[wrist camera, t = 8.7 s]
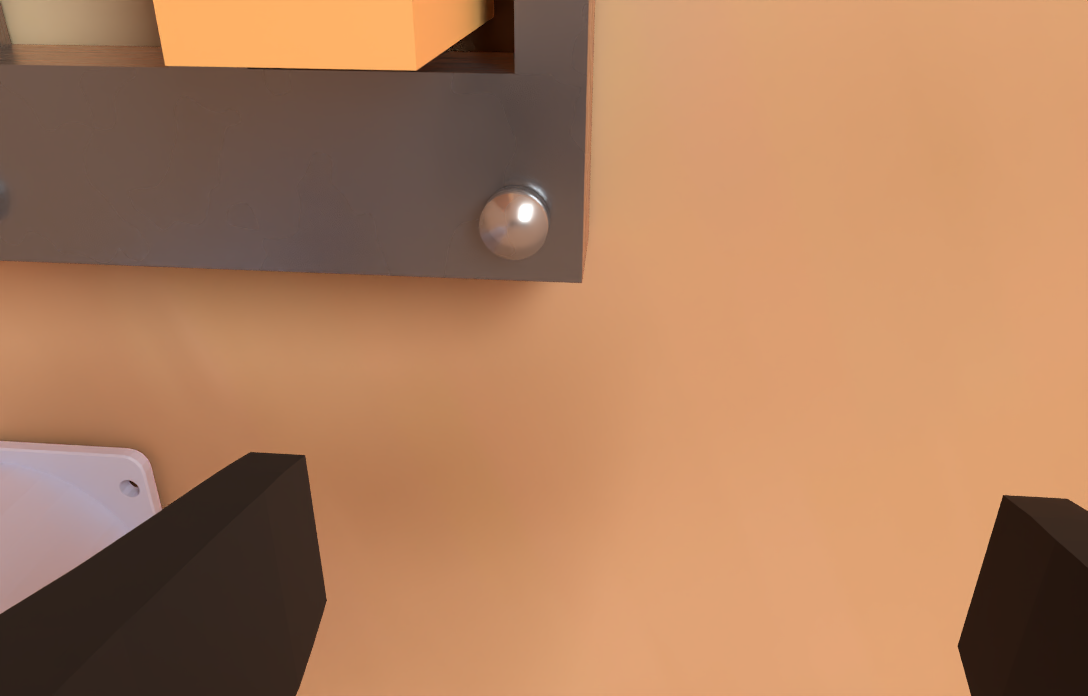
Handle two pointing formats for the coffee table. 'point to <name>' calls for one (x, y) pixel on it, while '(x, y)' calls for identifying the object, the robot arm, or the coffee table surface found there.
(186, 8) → the orange rectangular block
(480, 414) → the coffee table surface
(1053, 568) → the robot arm
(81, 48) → the grey mounting plate
